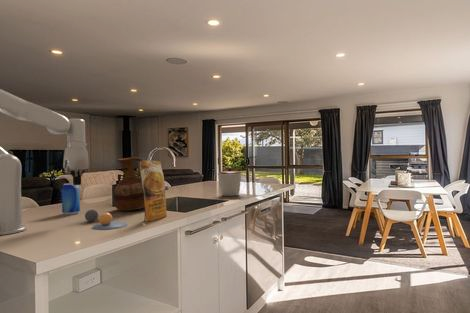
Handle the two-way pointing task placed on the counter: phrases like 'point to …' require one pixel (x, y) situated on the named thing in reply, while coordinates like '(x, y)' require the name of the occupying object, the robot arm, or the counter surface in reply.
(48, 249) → the counter surface
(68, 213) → the blue carton
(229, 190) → the canister
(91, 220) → the gray ball
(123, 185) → the ceramic pitcher
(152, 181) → the pancake mix bag
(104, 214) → the object ball
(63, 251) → the counter surface
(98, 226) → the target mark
